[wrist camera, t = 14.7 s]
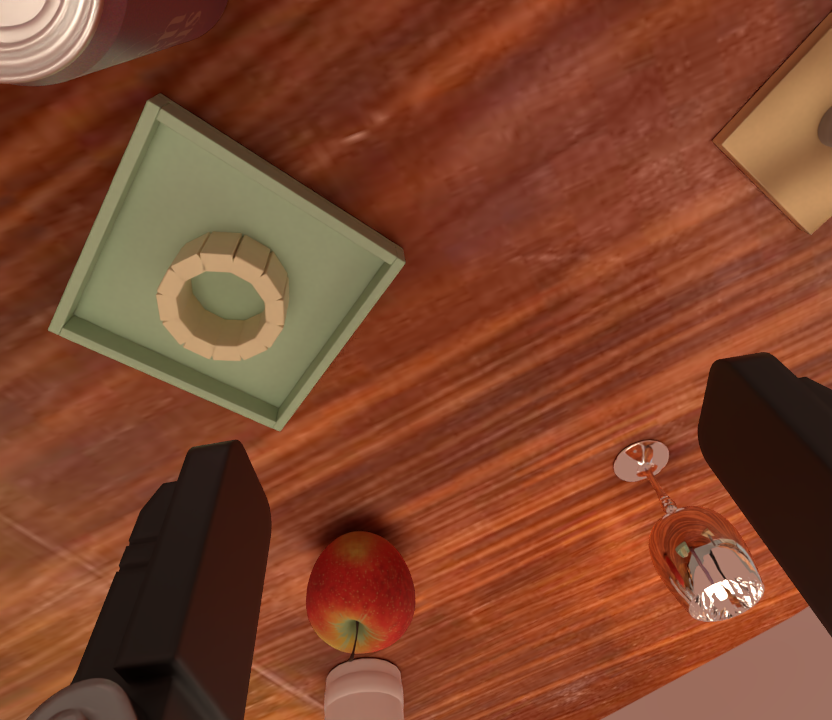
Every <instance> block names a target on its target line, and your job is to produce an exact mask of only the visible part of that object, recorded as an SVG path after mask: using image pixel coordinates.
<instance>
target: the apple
mask: <svg viewBox="0 0 832 720" xmlns="http://www.w3.org/2000/svg"><path fill="white" fill-rule="evenodd" d="M306 609H307V614H308V619H309V622H310V624H311V626H312V628H313V630H314V631H315V633H316V634H317V635H318V636H319V637H320V638H321V639H322V640H323V641H324V642H325V643H327V644H328V645H330V646H332V647H333V648H335V649H337V650H340V651H343V652H347V653H352V654H351V656H350V658H349V660H348V662H352V661H353V658H354V654H363V653H371V652H375V651H379V650H382V649H384V648H386V647H388V646H390V645H392V644H393V643H395V642H396V641H397V640H398V639H399V638H400V637H401V636H402V635H403V634H404V633H405V631H406V630H407V628H408V627H409V625H410V623H411V621H412V618H413V614H414V611H415V589H414V585H413V581H412V578H411V574H410V571H409V569H408V567H407V565H406V563H405V561H404V559H403V558H402V556H401V554H400V553H399V552H398V550H397V549H396V548H395V547H394V546H393V545H392V544H391V543H390V542H389V541H387V540H386V539H384V538H383V537H381V536H379V535H376V534H374V533H370V532H365V531H354V532H349V533H346V534H344V535H342V536H340V537H338V538H336V539H335V540H334V541H333V542H331V543H330V544H329V545H328V546H327V547H326V548H325V549H324V551H323V552H322V553H321V555H320V556H319V558H318V559H317V561H316V563H315V565H314V567H313V570H312V572H311V575H310V578H309V582H308V587H307V595H306Z"/></svg>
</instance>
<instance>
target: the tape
mask: <svg viewBox="0 0 832 720" xmlns="http://www.w3.org/2000/svg"><path fill="white" fill-rule="evenodd" d="M206 271H210V272H229V273H232V274H234V275H236V276H238V277H240V278H242V279H244V280H245V281H247V282H249V283H251V284H252V285H253V287H254V288H255V289H256V291H257V292H258V294H259V295H260V297H261V298H262V299H263V301H264V303H265V309H264V310H263V312H262V313H260V314H257V315H255V316H253V317H251V318H249V319H247V320H228V319H223V318H221V317H219V316H217V315H215V314H213V313H211V312H209V311H207V310H205V309H204V307H203V306H202V305H201V304H200V302H199V301H198V300H197V298H196V297H195V296H194V295H193V292H192V285H191V278H193V277H195V276H197V275H199V274H201V273H203V272H206ZM156 299H157V304H158V310H159V316H160V320H161V321H163V322H162V324H163V325H164V327H165V328H166V329H167V330H168V331H169V332H170V334H171V335H172V336H173V337H174V338H175V339H176V341H177V342H178V343H179V344H180V345H181V344H183V343H184V345H183V347H184V348H186V349H188V350H190V351H192V352H194V353H196V354H199V355H201V356H203V357H205V358H207V359H210V358H211V357H212V358H213V360H224V361H241V359H242V358H243V360H246V359H249V358H251V357H253V356H255V355H257V354H260V353H262V352H264V351H266V350H268V347H269V348H270V347H271V346H272V345H273V343H274V342H275V340H276V339H277V337H278V336H279V334H280V333H281V331H282V330H283V327H284V324H285V319H286V314H287V309H288V304H289V278H288V277H287V272H286V270H285V269H284V267H283V266H282V264H281V262H280V261H279V259H278V258H277V256H276V255H275V253H274V252H273V251H272V252H270V248H268V247H266V246H264V245H263V244H261V243H259V242H257V241H256V240H254V239H252V238H251V237H249V236H247V235H244V236H243V238H242V233H232V232H216V231H213V232H212V233H210V232H208V233H206V234H204V235H202V236H200V237H198V238H196V239H194V240H192V241H190V242H188V243H186V244H185V245H184V247H182V248H181V250H180V251H179V253H178V254H177V256H176V257H175V259H174V260H173V262H172V263H171V265H170V266H169V268H168V270H167V272H166V273H165V275H164V277H163V279H162V281H161V283H160V285H159V287H158V289H157V294H156Z"/></svg>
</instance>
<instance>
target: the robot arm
mask: <svg viewBox="0 0 832 720" xmlns="http://www.w3.org/2000/svg"><path fill="white" fill-rule="evenodd" d="M698 440H699V445H700V448H701V451H702V454H703V456H704V458H705V460H706V462H707V463H708V465H709V466H710V468H711V469H712V471H713V472H714V473H715V475H716V476H717V478H718V479H719V480H720V482H721V483H722V485H723V486H724V487H725V489H726V490H727V492H728V493H729V494H730V496H731V497H732V499H733V500H734V501H735V503H736V504H737V505H738V507H739V508H740V510H741V511H742V512H743V514H744V515H745V517H746V518H747V519H748V521H749V522H750V524H751V525H752V526H753V528H754V529H755V531H756V532H757V533H758V535H759V536H760V538H761V539H762V540H763V542H764V543H765V545H766V546H767V547H768V549H769V550H770V552H771V553H772V554H773V556H774V557H775V559H776V560H777V561H778V563H779V564H780V566H781V567H782V568H783V570H784V571H785V573H786V574H787V575H788V577H789V578H790V580H791V581H792V582H793V584H794V585H795V587H796V588H797V589H798V591H799V592H800V594H801V595H802V596H803V598H804V599H805V601H806V602H807V603H808V605H809V606H810V607H811V609H812V610H813V612H814V613H815V614H816V616H817V617H818V619H819V620H820V621H821V623H822V624H823V626H824V627H825V628H826V630H827V631H828V633H829V634H830V635H831V637H832V390H831V389H829V388H827V387H825V386H823V385H821V384H819V383H817V382H815V381H813V380H811V379H809V378H807V377H802V378H797V377H796V376H795V375H794V374H793V373H792V372H791V371H790V370H789V369H788V368H786V367H785V366H784V365H783V364H782V363H781V362H780V361H779V360H778V359H777V358H776V357H774V356H773V355H771V354H769V353H766V352H760V353H755V354H749V355H743V356H737V357H731V358H725V359H719V360H716V361H715V362H714V363H713V364H712V366H711V369H710V372H709V377H708V382H707V386H706V391H705V396H704V400H703V405H702V410H701V415H700V419H699V424H698ZM270 538H271V513H270V507H269V503H268V500H267V497H266V495H265V493H264V491H263V488H262V486H261V484H260V482H259V479H258V477H257V475H256V473H255V471H254V468H253V466H252V464H251V462H250V460H249V457H248V455H247V453H246V451H245V449H244V447H243V445H242V444H241V442H240V441H238V440H231V441H225V442H219V443H213V444H208V445H202V446H196V447H192V448H191V449H189V451H188V452H187V455H186V457H185V460H184V463H183V466H182V469H181V472H180V475H179V477H178V480H177V481H175V482H169V483H163V484H162V485H161V487H160V488H159V489H158V490H157V491H156V493H155V494H154V495H153V496H152V498H151V499H150V500H149V501H148V502H147V504H146V505H145V506H144V507H143V508H142V510H141V511H140V513H139V516H138V519H137V521H136V524H135V526H134V529H133V531H132V534H131V536H130V539H129V542H130V544H129V546H126V549H125V551H124V554H123V556H122V559H121V561H120V564H119V567H120V570H119V572H116V574H115V577H114V579H113V582H112V584H111V587H110V589H109V592H108V594H107V597H106V599H105V602H104V604H103V607H102V609H101V612H100V614H99V617H98V619H97V622H96V625H95V627H94V630H93V632H92V635H91V637H90V640H89V642H88V645H87V647H86V650H85V652H84V655H83V657H82V660H81V662H80V665H79V667H78V670H77V672H76V674H75V676H74V678H73V681H72V682H71V684H70V685H69V686H67V687H65V688H64V689H62V690H60V691H58V692H57V693H55V694H54V695H52V696H51V697H50V698H48V699H47V700H46V701H45V702H43V703H42V704H41V705H40V706H39V707H38V708H37V709H36V710H35V711H34V712H33V713H32V714H31V715H30V716H29V717H28V718H27V719H26V720H244V713H245V706H246V700H247V693H248V686H249V679H250V673H251V666H252V659H253V652H254V646H255V639H256V632H257V625H258V619H259V612H260V605H261V599H262V592H263V585H264V578H265V572H266V565H267V558H268V551H269V545H270Z"/></svg>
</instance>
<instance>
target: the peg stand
mask: <svg viewBox="0 0 832 720" xmlns="http://www.w3.org/2000/svg"><path fill="white" fill-rule="evenodd" d="M712 142H713V143H714V144H715V145H716V146H717V147H718V148H719V149H720V150H721V151H722V152H723V153H724V154H725V155H726V156H727V157H728V158H729V159H730V160H731V161H732V162H733V163H734V164H735V165H736V166H737V167H738V168H739V169H740V170H741V171H742V172H743V173H744V174H745V175H746V176H747V177H748V178H749V179H750V180H751V181H752V182H753V183H754V184H755V185H756V186H757V187H758V188H759V189H760V190H761V191H762V192H763V193H764V194H765V195H766V196H767V197H768V198H769V199H770V200H771V201H772V202H773V203H774V204H775V205H776V206H777V207H778V208H779V209H780V210H781V211H782V212H783V213H784V214H785V215H786V216H787V217H788V218H789V219H790V220H791V221H792V222H793V223H794V224H795V225H796V226H797V227H798V228H799V229H800V230H802V231H804V232H806V233H808V234H810V235H811V234H812V233H813V232H814V231H816V230H817V229H818V228H819V227H820V226H821V225H822V224H823V223H824V222H825V221H826V220H828V219H829V218H830V217H831V216H832V11H831V13H830V14H829V15H828V16H827V17H826V18H825V19H824V20H823V21H822V22H821V23H820V24H819V26H818V27H817V28H816V29H815V30H814V31H813V32H812V33H811V34H810V35H809V36H808V37H807V39H806V40H805V41H804V42H803V43H802V44H801V45H800V46H799V47H798V48H797V49H796V50H795V51H794V53H793V54H792V55H791V56H790V57H789V58H788V59H787V60H786V61H785V62H784V63H783V64H782V66H781V67H780V68H779V69H778V70H777V71H776V72H775V73H774V74H773V75H772V76H771V77H770V78H769V80H768V81H767V82H766V83H765V84H764V85H763V86H762V87H761V88H760V89H759V90H758V91H757V93H756V94H755V95H754V96H753V97H752V98H751V99H750V100H749V101H748V102H747V103H746V104H745V105H744V107H743V108H742V109H741V110H740V111H739V112H738V113H737V114H736V115H735V116H734V117H733V118H732V120H731V121H730V122H729V123H728V124H727V125H726V126H725V127H724V128H723V129H722V130H721V131H720V132H719V134H718V135H717V136H716V137H715V138H714V139H713V140H712Z"/></svg>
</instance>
